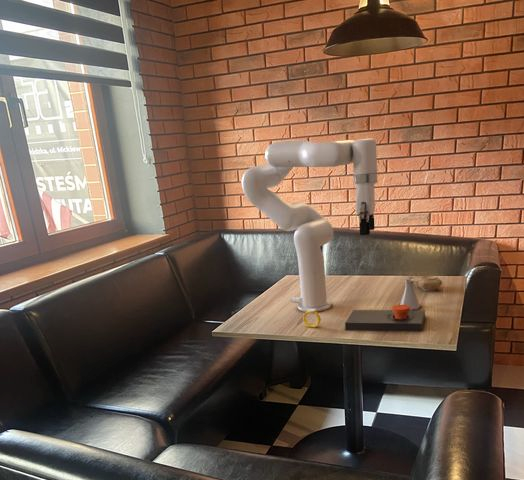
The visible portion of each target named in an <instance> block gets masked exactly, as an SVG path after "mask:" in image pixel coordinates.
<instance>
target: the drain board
mask: <svg viewBox="0 0 524 480" xmlns="http://www.w3.org/2000/svg"><path fill="white" fill-rule="evenodd" d="M425 318H426V309H412V310H410V311H409V312H407V318H405V319H396V318H395V312H393V311H392V309H353V310H352V311H351V313H350V314H349V316H348V317H347V318H346V321H345V322H344V328H345V330H344V331H386V332H388V331H389V332H390V331H391V332H422V331H423V326H424V323H425Z"/></svg>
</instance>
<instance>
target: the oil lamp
mask: <svg viewBox="0 0 524 480" xmlns="http://www.w3.org/2000/svg"><path fill="white" fill-rule="evenodd" d="M407 279H413V280H414V282H413V286H416V287H418V288H420V289H421V290H422V291H425V292H433V291H436V290H437V289H438V288H440V287H441V286H442V285H443V281H442V279H441V278H439V277H438V276H436V275H425V276H422V277H418V276H417V275H416V276H415V275H414V276H408V277H406V280H407Z"/></svg>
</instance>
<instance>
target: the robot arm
mask: <svg viewBox="0 0 524 480" xmlns="http://www.w3.org/2000/svg"><path fill="white" fill-rule="evenodd" d="M377 155H378V151H377V141H376V139H375V138H371V137H369V138H361V139H356V140H352V139H345V140H344V139H343V140H336V141H326V142H325V141H323V142H310V141H309V140H293V141H290V140H284V141H275V142H273V143H271V144H269V145H268V146H267V148H266V149H265V152H264V158H265V161H266V162H267V164H261V165H255V166H252V167H249V168H248V169H246V170H245V171H244V173H243V175H242V178H241V188H242V192H243V195H244V196H245V198H246V199H247V200H248V201H249V203H251V205H253V206H254V207H255V208H256V209H258V210H259V211H260V212H261V213H263V214H264V215H265V216H266V217H267V218H268V219H269V220H271V221H272V222H273V223H274V224H275V225H276V226H277V227H279V228H280V229H281V230H283V231H285V232H292V231H294V234H293V244H294V247H295V251H296V256H297V264H298V277H299V287H300V295H299V296H291V297H290V302H291V303H292V304H298V305H297V309H298V310H299V311H300V312H304V313H305V312H307V310H308V309H315V310H316V312H317V313H319V312H323V311H327V310H328V309H330V308H332V303H331V301H329V300H328V299H327V285H326V284H327V283H326V270H325V269H326V268H325V258H324V255H323V254H324V253H323V252H322V249H321V247H322V246H324V245H327V244H328V243H330V242H331V241H332V240H333V237H334V227H333V226H332V224H331V222H330V221H329V220H328V219H327V218H326V217H324V216H323V215H322V214H321V213H319V212H318V211H317V210H316V209H315V208H313V207H312V206H311V205H309V204H308V203H306V202H303V201H296V202H291V203H290V202H288V201H286V200H285V199H284V198H283V197H281V196H280V195H279V194H278V193H276V192H274V191H273V190H270V189H271V188H275V187H277V186H279V185H280V184H281V183H282V182H283V181H284V180H285V178H286V177H287V176H289V174H290V172H292V170H293V168H333V167H339V166H345V165H351V164H352V167H353V168H352V169H353V186H356V188H355V189H356V190H355V216H356V217H359V235H360V236H369V235H370V234H371V231H374V230H375V229H376V228H375V211H376V193H375V185H376V184H378V156H377Z"/></svg>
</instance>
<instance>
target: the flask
mask: <svg viewBox="0 0 524 480" xmlns="http://www.w3.org/2000/svg"><path fill="white" fill-rule="evenodd" d="M413 282H414V280H413V279H407V278H406V279H405V280H404V283H405V287H404V292H403V294H402V297H401V301H400V304H399V305H408V306H410V310H419V308H420V307H421V305H420V302H419V299H418V297H417V294H416V291H415V287H414V286H415V285H413Z"/></svg>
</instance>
